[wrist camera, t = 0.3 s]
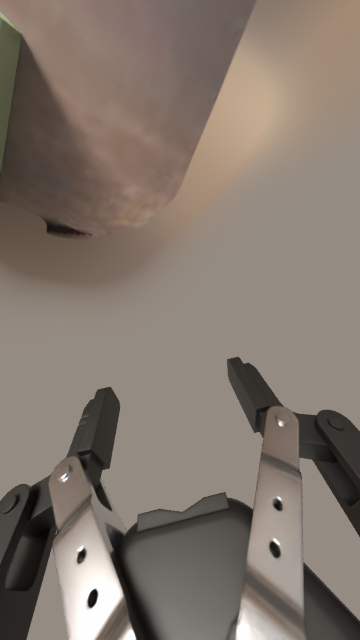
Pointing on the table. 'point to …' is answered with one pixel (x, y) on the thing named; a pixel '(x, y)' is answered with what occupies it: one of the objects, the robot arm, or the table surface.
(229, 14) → the table surface
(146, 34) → the table surface
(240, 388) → the robot arm
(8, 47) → the desk tray
